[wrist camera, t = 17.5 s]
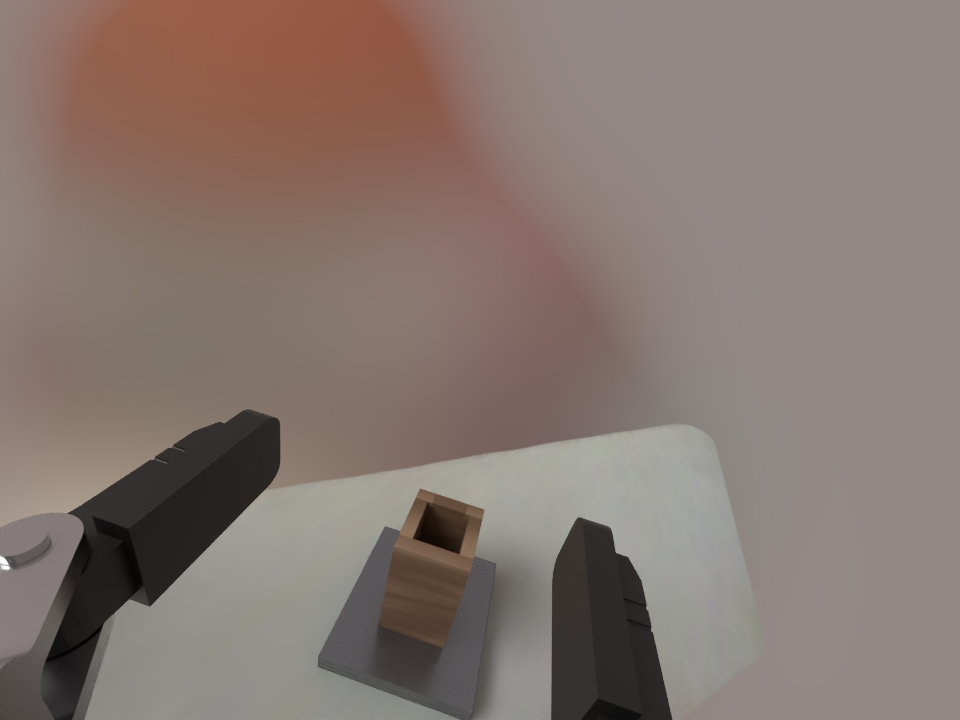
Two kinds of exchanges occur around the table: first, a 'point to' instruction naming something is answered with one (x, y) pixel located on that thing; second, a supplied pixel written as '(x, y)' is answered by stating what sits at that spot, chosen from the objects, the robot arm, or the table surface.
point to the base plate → (411, 640)
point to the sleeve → (430, 567)
